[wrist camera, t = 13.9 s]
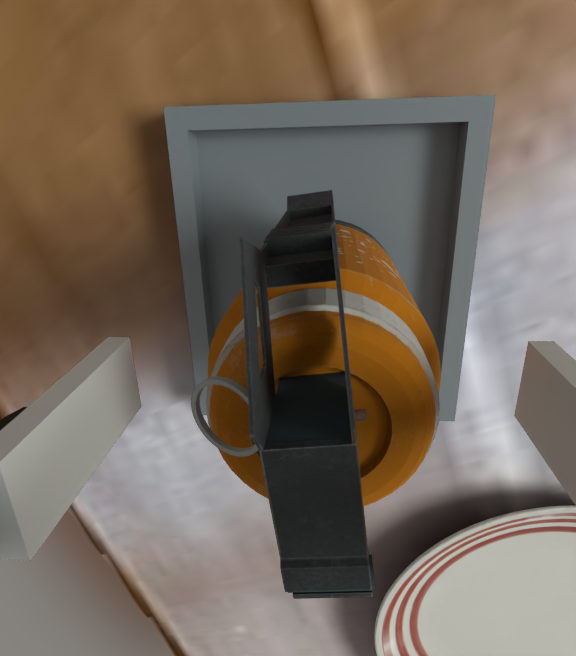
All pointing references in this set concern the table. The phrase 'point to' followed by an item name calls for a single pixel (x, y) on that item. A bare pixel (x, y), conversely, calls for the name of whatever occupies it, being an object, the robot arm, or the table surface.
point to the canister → (321, 390)
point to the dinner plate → (488, 591)
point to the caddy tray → (334, 198)
